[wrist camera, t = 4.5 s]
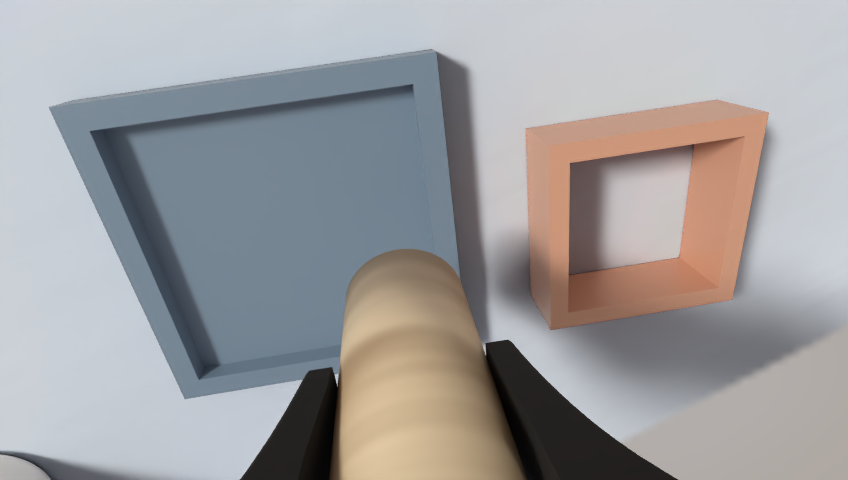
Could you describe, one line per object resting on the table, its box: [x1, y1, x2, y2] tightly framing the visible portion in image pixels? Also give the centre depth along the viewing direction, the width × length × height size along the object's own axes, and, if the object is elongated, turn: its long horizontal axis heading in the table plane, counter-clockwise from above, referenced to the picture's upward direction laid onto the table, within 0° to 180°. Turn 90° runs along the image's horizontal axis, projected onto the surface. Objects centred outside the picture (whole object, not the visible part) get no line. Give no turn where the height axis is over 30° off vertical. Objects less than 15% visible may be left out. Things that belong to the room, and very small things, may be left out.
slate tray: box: [49, 49, 460, 399], centre depth 21 cm, size 14×14×2 cm
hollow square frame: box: [526, 100, 769, 330], centre depth 21 cm, size 9×9×3 cm
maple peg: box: [329, 249, 527, 480], centre depth 12 cm, size 4×4×8 cm
